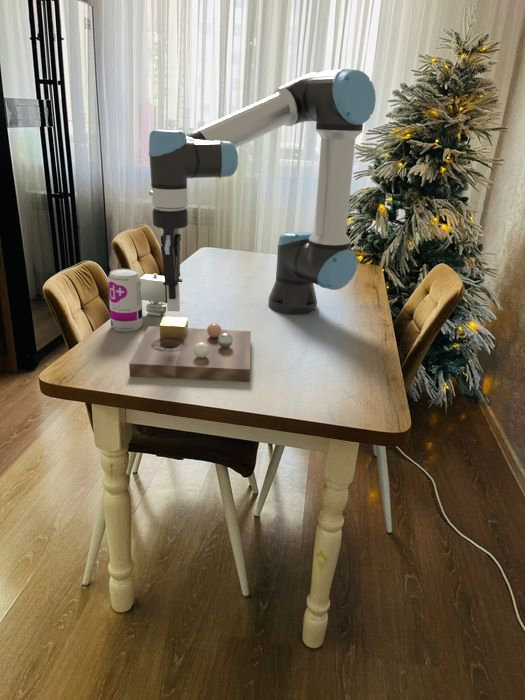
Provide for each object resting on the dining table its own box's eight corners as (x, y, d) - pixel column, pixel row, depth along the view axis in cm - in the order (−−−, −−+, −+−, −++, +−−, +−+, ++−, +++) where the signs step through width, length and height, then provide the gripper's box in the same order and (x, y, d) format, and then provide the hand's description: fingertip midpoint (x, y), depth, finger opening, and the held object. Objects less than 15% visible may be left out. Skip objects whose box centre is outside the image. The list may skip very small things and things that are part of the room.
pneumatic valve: (172, 319, 142) (172, 278, 137) (133, 314, 144) (131, 273, 139) (179, 313, 147) (179, 273, 142) (141, 308, 149) (140, 268, 144)
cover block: (187, 328, 129) (187, 317, 127) (184, 338, 123) (184, 326, 122) (164, 327, 128) (163, 316, 127) (159, 336, 123) (159, 325, 122)
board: (250, 342, 131) (250, 331, 130) (249, 381, 111) (249, 369, 110) (149, 336, 130) (148, 326, 129) (129, 376, 110) (129, 363, 109)
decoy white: (209, 354, 116) (210, 340, 114) (208, 360, 113) (208, 346, 111) (194, 353, 116) (194, 339, 114) (192, 360, 112) (192, 345, 111)
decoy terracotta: (221, 334, 127) (222, 321, 125) (220, 340, 124) (221, 326, 122) (207, 334, 127) (207, 320, 125) (206, 339, 123) (206, 326, 122)
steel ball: (232, 344, 121) (233, 331, 120) (232, 350, 118) (232, 337, 117) (218, 344, 121) (218, 330, 120) (217, 350, 118) (217, 336, 117)
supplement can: (126, 335, 130) (123, 278, 124) (104, 327, 134) (100, 272, 128) (149, 326, 137) (147, 272, 131) (127, 319, 141) (124, 266, 134)
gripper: (157, 202, 115) (162, 300, 125) (146, 212, 104) (152, 320, 113) (190, 203, 116) (192, 301, 126) (183, 213, 104) (186, 321, 114)
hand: (173, 310), depth 119 cm, fingers closed
